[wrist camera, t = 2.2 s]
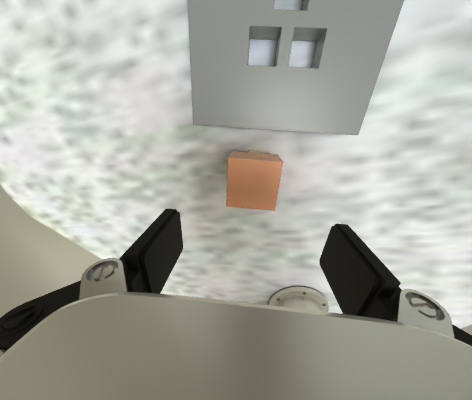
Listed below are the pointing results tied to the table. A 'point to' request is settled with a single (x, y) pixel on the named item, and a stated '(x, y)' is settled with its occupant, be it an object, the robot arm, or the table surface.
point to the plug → (253, 180)
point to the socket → (281, 76)
